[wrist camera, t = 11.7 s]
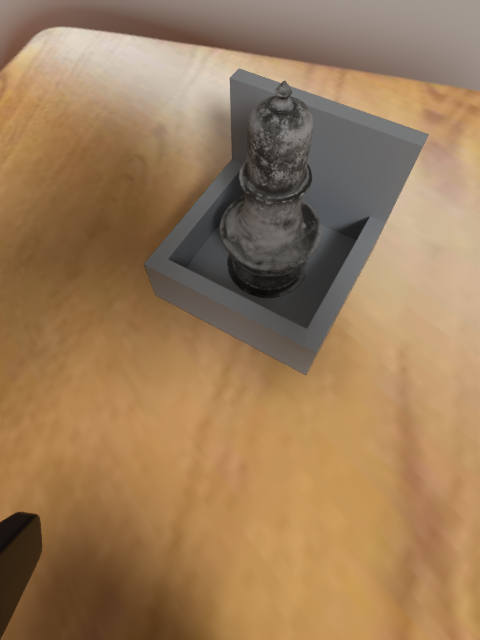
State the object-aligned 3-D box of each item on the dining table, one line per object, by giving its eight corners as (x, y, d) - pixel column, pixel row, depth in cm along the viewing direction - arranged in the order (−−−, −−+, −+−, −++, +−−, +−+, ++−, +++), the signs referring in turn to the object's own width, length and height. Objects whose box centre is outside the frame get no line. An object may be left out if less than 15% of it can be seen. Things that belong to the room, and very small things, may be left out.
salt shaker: (203, 266, 26) (176, 85, 15) (261, 214, 28) (273, 22, 17) (273, 319, 24) (298, 157, 13) (330, 259, 26) (391, 76, 15)
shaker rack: (306, 375, 23) (339, 299, 15) (155, 294, 26) (116, 194, 18) (374, 246, 28) (428, 134, 20) (239, 188, 30) (238, 68, 22)
